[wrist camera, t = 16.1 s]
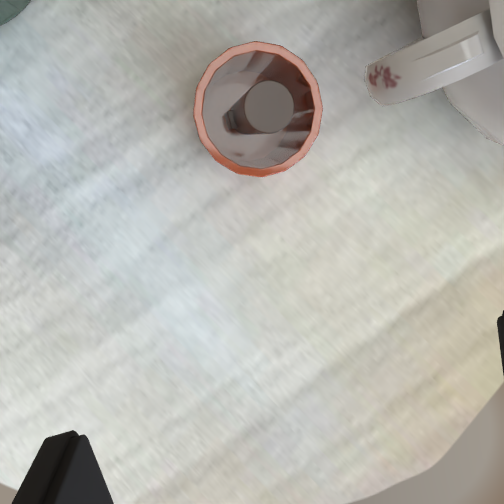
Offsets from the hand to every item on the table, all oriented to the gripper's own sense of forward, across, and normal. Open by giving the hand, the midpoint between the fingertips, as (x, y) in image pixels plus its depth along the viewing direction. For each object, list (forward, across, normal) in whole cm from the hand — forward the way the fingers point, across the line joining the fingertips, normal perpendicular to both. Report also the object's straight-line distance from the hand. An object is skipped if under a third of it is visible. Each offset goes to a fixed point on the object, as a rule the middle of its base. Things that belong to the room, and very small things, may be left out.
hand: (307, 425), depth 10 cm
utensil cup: (+28, -3, -7) cm, 29 cm away
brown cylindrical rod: (+28, -3, -7) cm, 29 cm away
